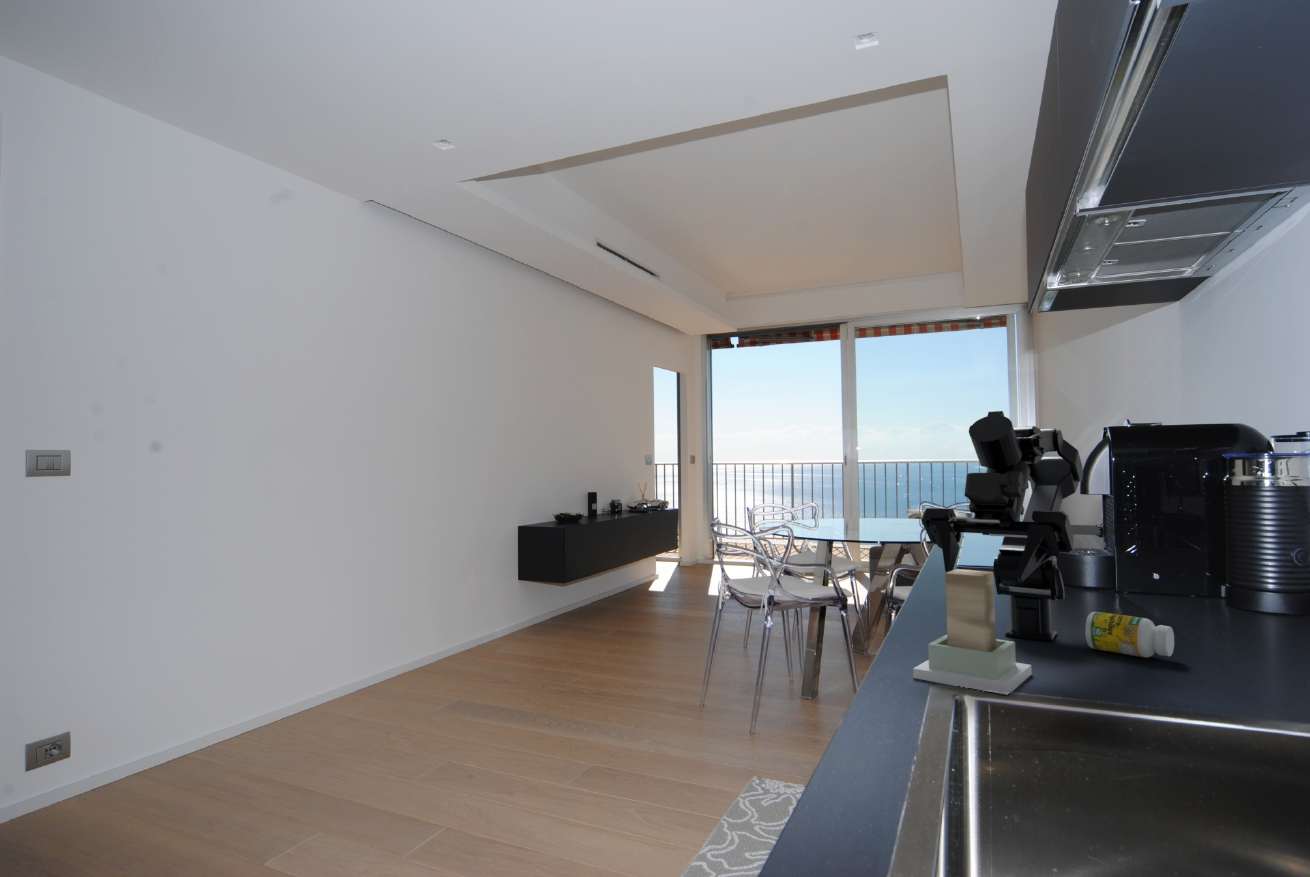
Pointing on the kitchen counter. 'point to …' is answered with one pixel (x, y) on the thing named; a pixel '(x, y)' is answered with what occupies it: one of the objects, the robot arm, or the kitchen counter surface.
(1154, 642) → the supplement bottle
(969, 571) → the brown box
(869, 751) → the kitchen counter surface
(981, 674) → the caddy
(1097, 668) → the kitchen counter surface
